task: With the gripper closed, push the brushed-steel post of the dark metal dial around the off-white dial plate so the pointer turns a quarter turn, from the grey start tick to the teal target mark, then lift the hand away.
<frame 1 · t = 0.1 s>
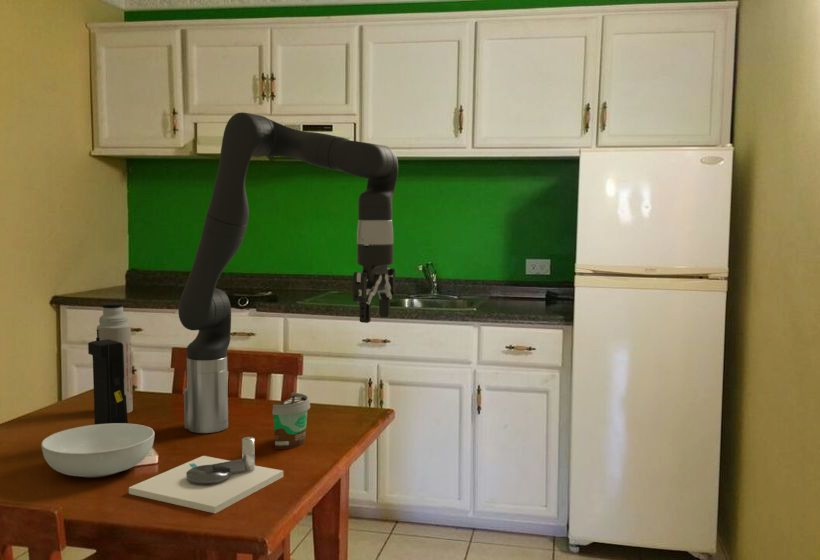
hand: (374, 319, 157), 29 cm above the table, fingers open, 8 cm apart
dial plate: (208, 484, 142), on the table
serving bowl: (100, 470, 150), on the table
dial: (221, 458, 143), point 5 cm above the table, hinge at 0.0°
portable radio: (111, 442, 168), on the table
thermos bottle: (116, 412, 193), on the table
food container: (296, 443, 168), on the table
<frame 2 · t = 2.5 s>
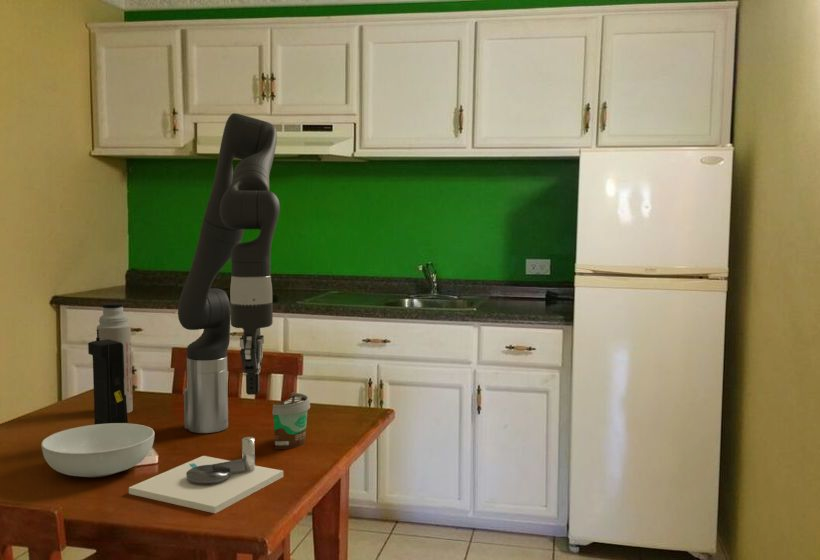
hand: (252, 393, 139), 18 cm above the table, fingers closed
nothing on the table moved.
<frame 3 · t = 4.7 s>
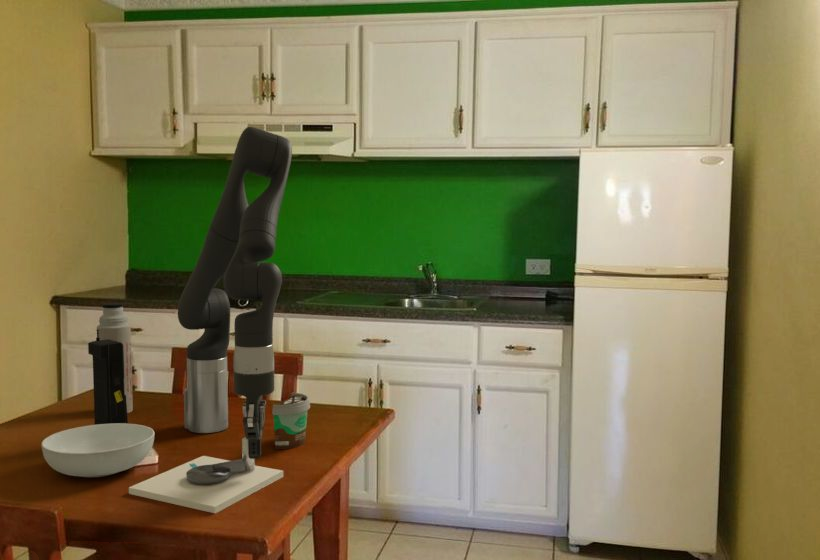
hand: (254, 457, 143), 5 cm above the table, fingers closed
dial: (221, 458, 143), point 5 cm above the table, hinge at 0.0°, touching gripper
everything else where it was.
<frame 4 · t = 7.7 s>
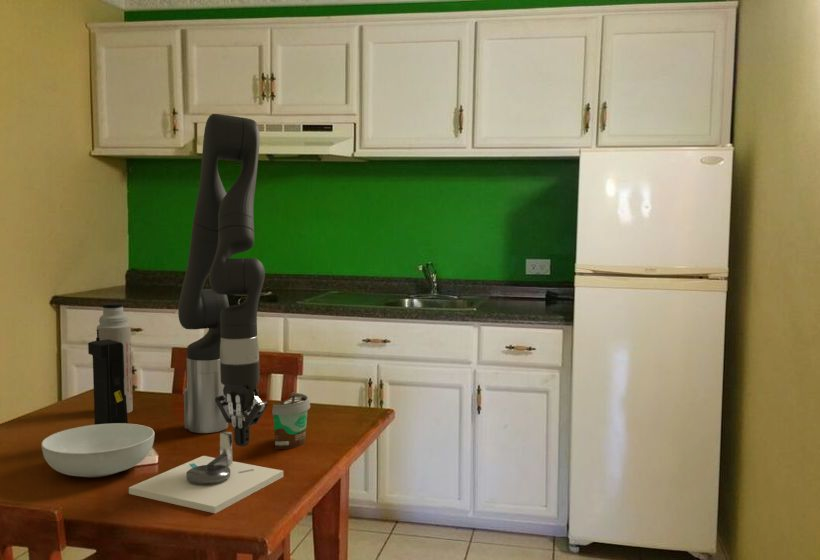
hand: (242, 445, 149), 5 cm above the table, fingers closed
dial: (214, 456, 144), point 5 cm above the table, hinge at 45.2°, touching gripper
everything else where it was.
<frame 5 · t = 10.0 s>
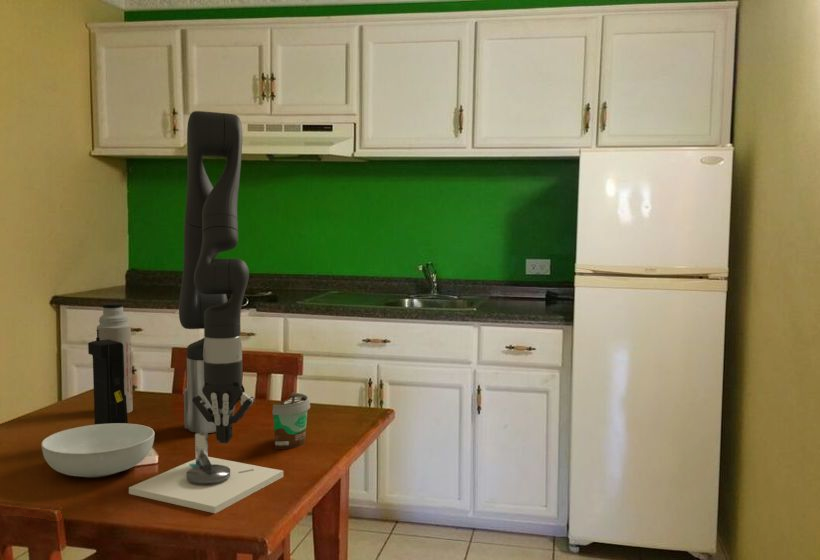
hand: (224, 442, 152), 5 cm above the table, fingers closed
dial: (206, 457, 144), point 5 cm above the table, hinge at 79.9°
everything else where it was.
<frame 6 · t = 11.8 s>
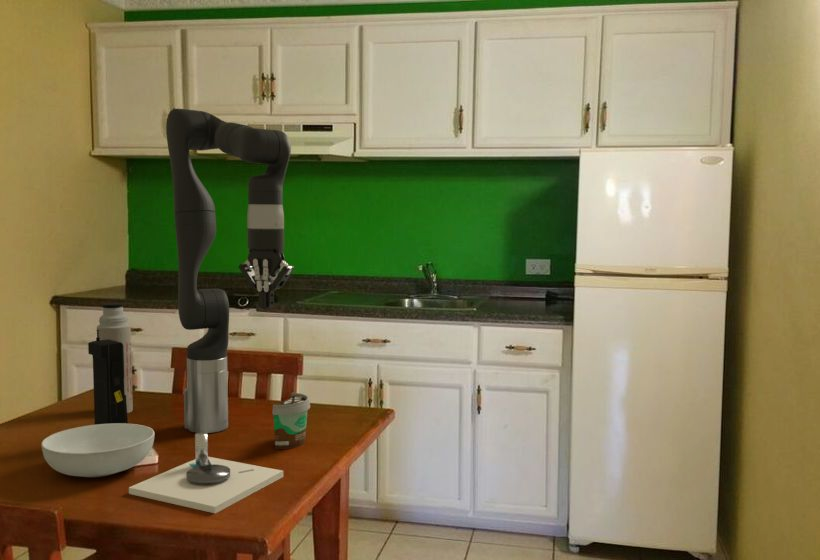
hand: (266, 309, 157), 31 cm above the table, fingers closed
nothing on the table moved.
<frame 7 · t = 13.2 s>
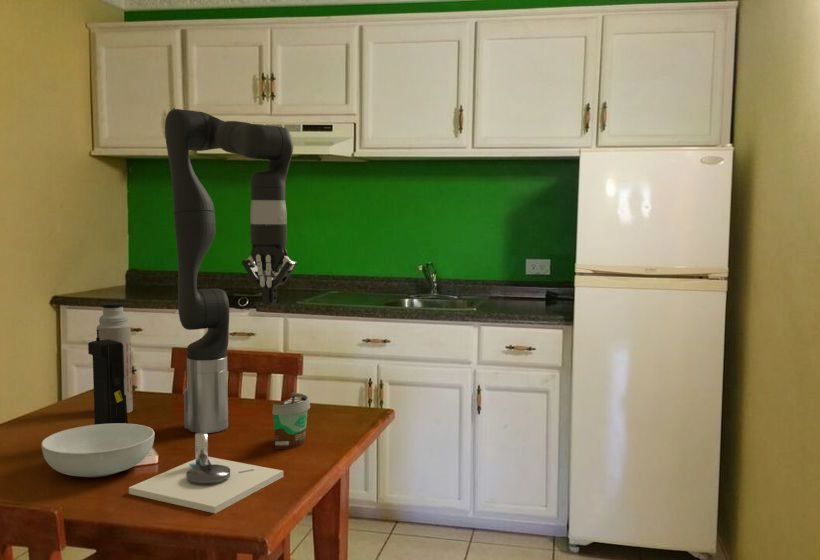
hand: (269, 304, 158), 32 cm above the table, fingers closed
nothing on the table moved.
at the end: dial at +80° (first picture: +0°) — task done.
